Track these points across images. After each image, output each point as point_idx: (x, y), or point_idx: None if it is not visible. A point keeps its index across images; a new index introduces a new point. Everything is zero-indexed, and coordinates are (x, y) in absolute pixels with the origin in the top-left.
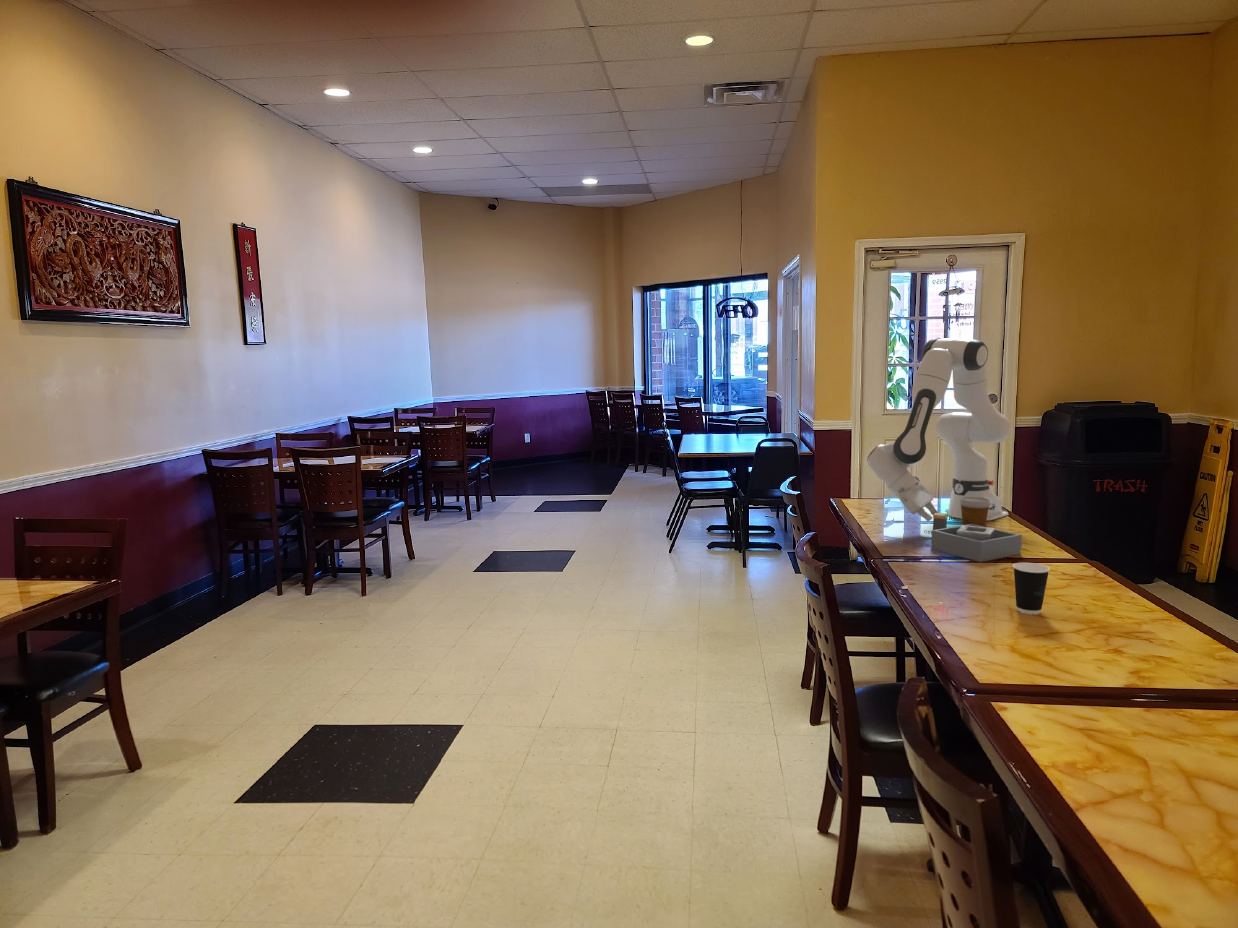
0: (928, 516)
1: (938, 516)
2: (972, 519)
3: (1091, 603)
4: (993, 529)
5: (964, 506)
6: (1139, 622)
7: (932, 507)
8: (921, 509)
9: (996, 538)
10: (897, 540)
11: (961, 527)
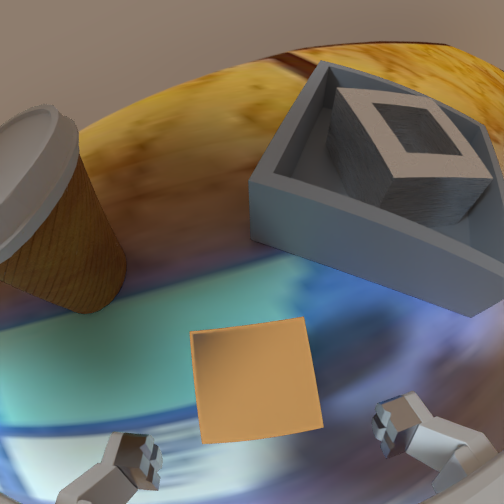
0: (425, 413)
1: (312, 379)
2: (99, 221)
3: (463, 74)
4: (363, 90)
5: (42, 222)
6: (464, 63)
7: (102, 490)
8: (490, 456)
9: (421, 96)
10: (433, 490)
11: (442, 173)
